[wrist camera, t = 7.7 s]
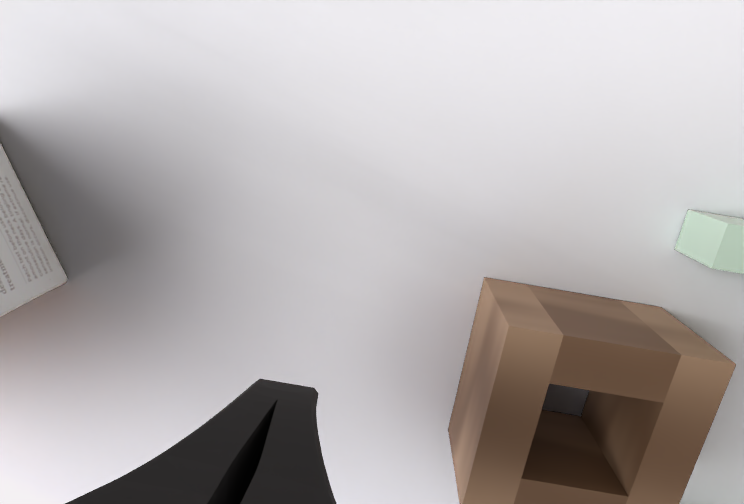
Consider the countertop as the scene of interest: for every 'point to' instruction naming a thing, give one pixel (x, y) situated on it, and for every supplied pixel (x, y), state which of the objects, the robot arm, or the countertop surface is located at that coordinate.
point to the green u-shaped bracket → (713, 240)
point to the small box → (22, 246)
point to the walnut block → (602, 408)
